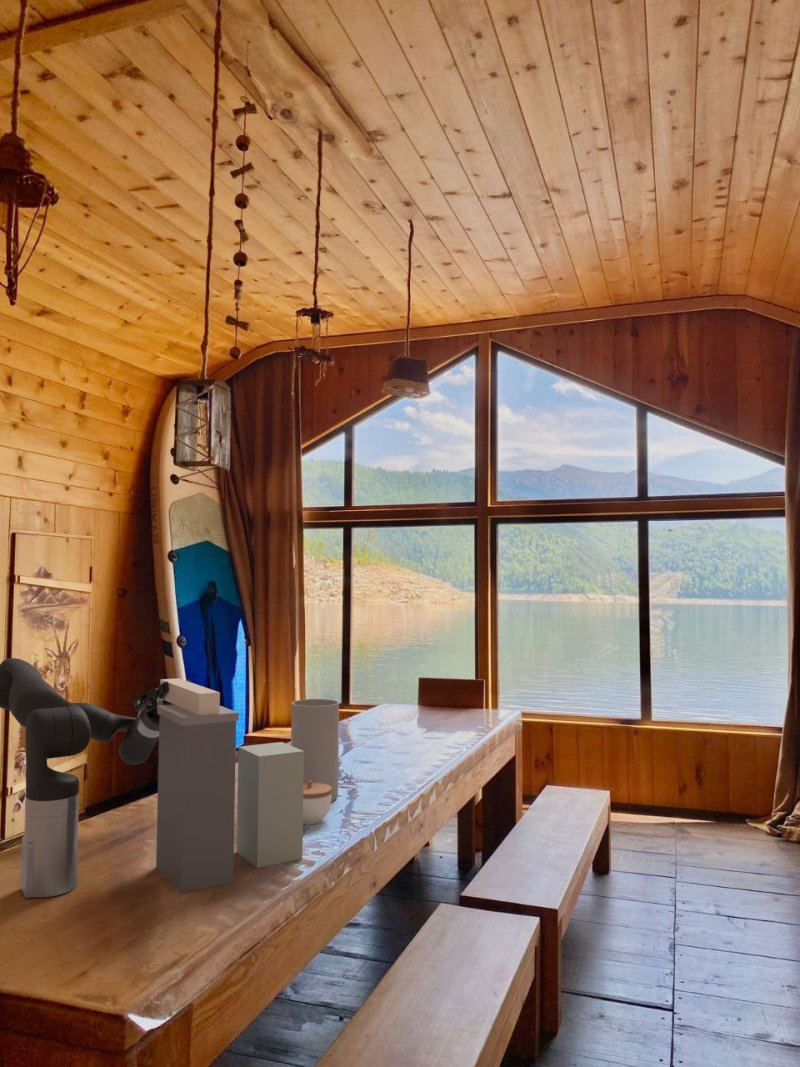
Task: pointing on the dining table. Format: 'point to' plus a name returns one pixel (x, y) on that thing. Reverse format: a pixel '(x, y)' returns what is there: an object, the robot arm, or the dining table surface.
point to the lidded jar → (315, 802)
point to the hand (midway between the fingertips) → (178, 684)
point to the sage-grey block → (270, 803)
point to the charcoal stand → (196, 797)
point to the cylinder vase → (317, 739)
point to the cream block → (192, 697)
